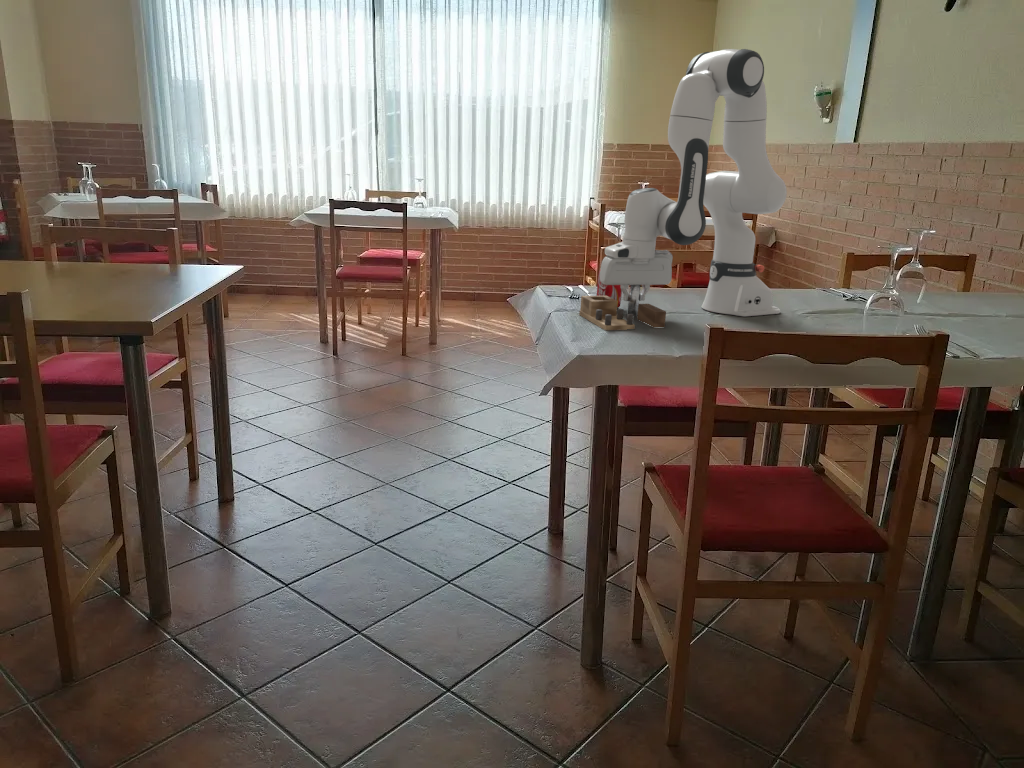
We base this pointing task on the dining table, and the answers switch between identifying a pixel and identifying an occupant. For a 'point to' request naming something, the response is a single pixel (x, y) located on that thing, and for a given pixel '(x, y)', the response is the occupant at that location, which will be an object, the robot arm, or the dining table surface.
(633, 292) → the pin
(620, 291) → the soda can
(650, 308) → the bar
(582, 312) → the board
